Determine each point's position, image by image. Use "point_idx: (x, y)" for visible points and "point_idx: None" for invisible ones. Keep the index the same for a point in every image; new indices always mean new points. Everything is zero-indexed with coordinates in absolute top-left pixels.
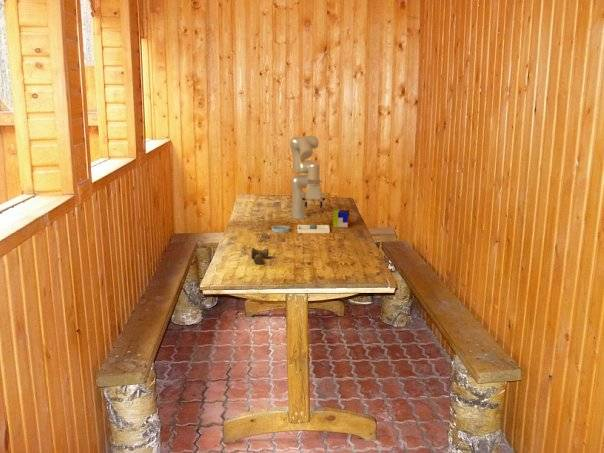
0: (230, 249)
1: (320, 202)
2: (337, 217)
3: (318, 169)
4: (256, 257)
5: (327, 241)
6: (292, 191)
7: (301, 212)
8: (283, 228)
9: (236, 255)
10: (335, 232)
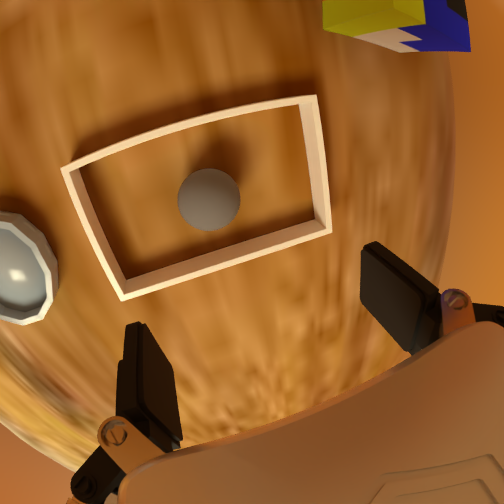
0: (75, 464)
1: (406, 350)
2: (394, 27)
3: None
4: None
5: (312, 359)
6: None
7: None
8: (5, 238)
9: None
10: (351, 195)
